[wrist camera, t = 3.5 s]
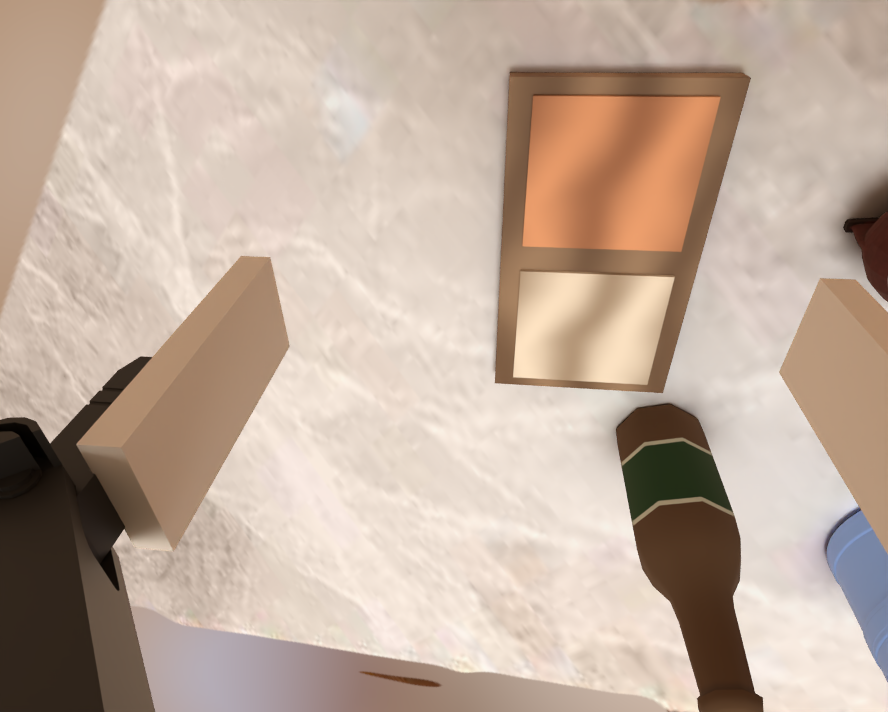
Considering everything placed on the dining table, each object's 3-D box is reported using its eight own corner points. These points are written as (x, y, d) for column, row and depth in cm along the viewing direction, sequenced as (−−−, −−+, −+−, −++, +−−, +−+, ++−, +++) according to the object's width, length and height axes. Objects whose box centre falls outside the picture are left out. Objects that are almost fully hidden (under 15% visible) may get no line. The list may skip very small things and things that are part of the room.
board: (742, 72, 34) (752, 78, 32) (659, 381, 48) (663, 395, 47) (510, 72, 35) (509, 78, 34) (495, 372, 50) (494, 385, 48)
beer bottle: (596, 424, 52) (639, 707, 33) (677, 387, 48) (777, 680, 29) (638, 472, 55) (700, 758, 36) (716, 441, 51) (831, 739, 32)
